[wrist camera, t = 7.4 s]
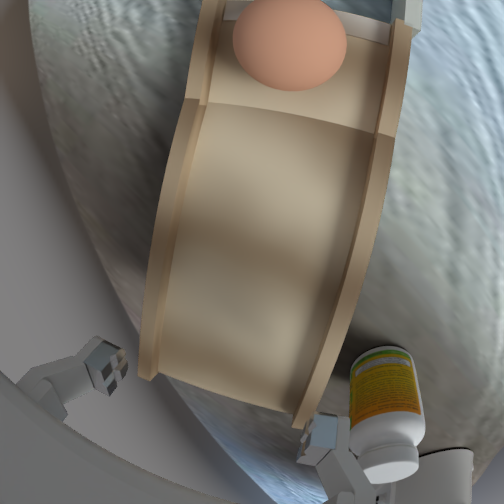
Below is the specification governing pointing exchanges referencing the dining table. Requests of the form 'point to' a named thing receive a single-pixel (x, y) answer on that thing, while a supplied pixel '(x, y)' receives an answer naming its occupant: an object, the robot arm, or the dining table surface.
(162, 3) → the dining table surface
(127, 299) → the dining table surface
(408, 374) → the supplement bottle
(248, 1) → the ramp
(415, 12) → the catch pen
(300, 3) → the ball
